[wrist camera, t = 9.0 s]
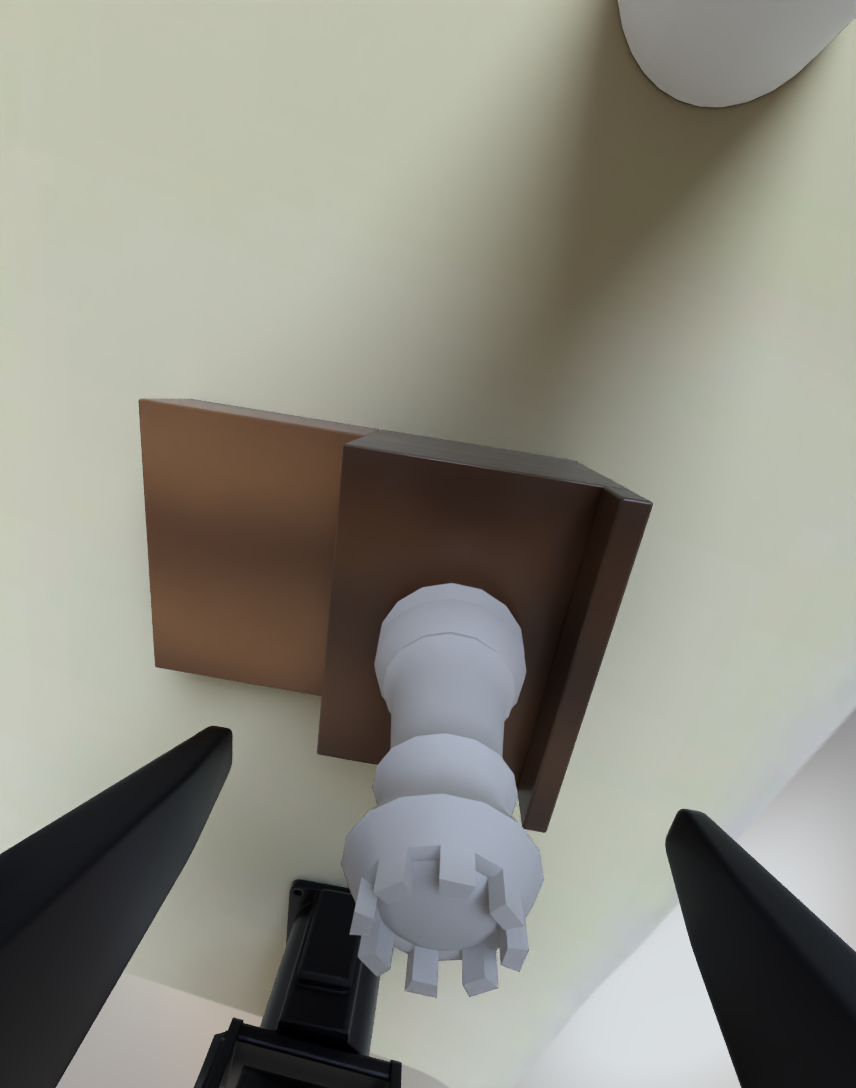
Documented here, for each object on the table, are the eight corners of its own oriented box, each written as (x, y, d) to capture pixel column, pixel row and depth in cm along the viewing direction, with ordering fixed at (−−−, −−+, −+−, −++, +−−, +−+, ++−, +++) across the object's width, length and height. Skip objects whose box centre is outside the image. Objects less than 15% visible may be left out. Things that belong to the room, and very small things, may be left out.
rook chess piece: (548, 611, 13) (668, 900, 6) (484, 720, 15) (511, 1069, 7) (411, 553, 13) (341, 773, 5) (360, 670, 14) (247, 977, 7)
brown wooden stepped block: (518, 687, 21) (546, 834, 14) (195, 632, 21) (62, 747, 14) (576, 460, 18) (655, 502, 10) (188, 398, 18) (9, 397, 11)
